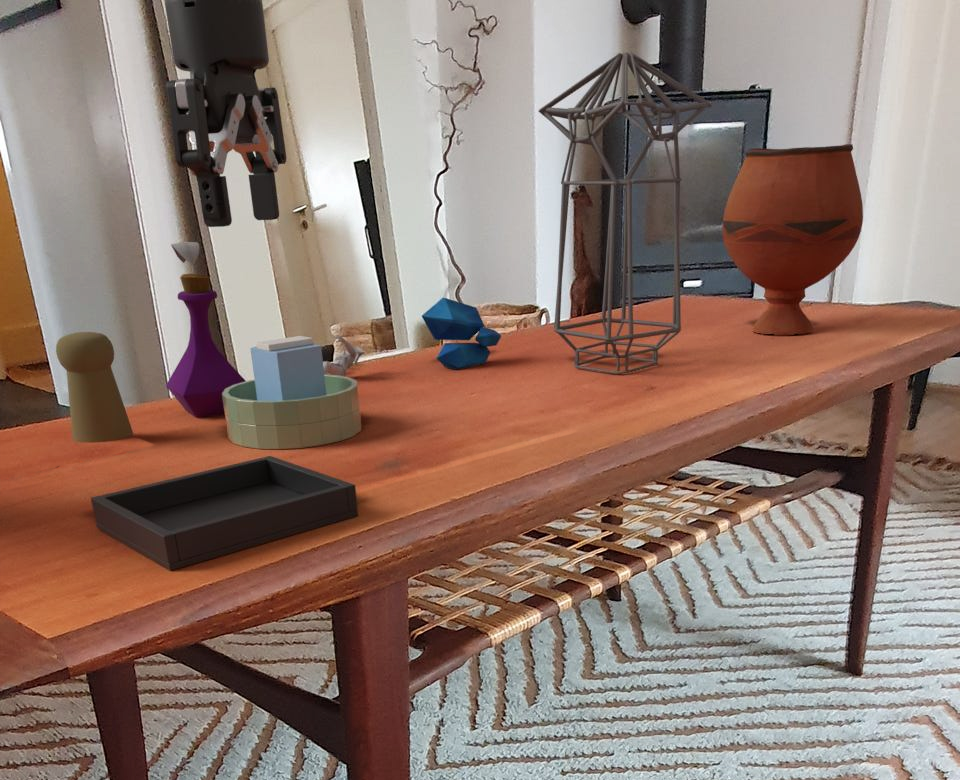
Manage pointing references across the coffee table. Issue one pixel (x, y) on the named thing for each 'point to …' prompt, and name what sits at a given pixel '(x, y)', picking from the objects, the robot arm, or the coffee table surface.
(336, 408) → the bowl
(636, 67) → the geometric lantern
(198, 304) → the perfume bottle
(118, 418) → the cork
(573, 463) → the coffee table surface
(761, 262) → the goblet
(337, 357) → the seated figurine
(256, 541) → the tray
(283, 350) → the carton
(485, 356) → the crystal
